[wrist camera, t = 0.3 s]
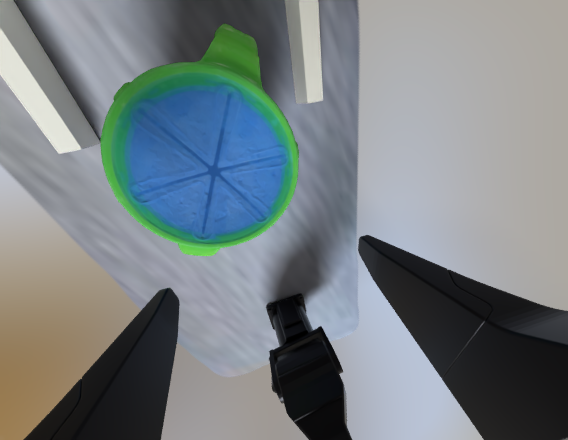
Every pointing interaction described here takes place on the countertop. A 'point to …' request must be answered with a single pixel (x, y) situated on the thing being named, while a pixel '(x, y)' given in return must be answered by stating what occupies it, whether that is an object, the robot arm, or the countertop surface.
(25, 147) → the countertop surface
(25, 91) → the centring cradle
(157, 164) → the snack cup
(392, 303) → the robot arm
